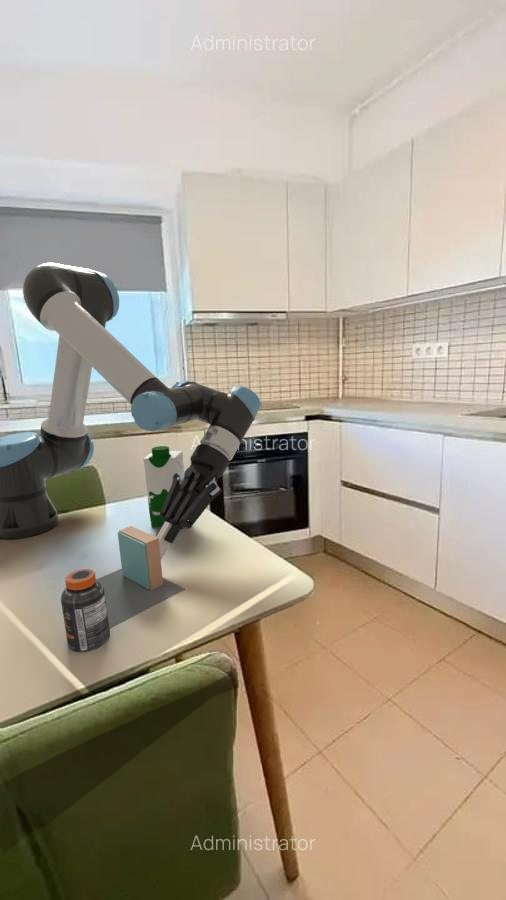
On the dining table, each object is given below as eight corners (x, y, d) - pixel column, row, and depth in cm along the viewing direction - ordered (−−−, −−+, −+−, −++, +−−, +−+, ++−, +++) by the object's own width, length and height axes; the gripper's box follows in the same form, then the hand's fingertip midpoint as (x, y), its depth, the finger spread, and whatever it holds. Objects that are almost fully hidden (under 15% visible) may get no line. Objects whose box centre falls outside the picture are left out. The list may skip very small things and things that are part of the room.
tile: (122, 575, 85) (116, 531, 83) (135, 569, 87) (131, 526, 85) (149, 591, 79) (144, 543, 77) (163, 584, 81) (158, 538, 79)
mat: (62, 597, 79) (61, 593, 79) (135, 566, 90) (135, 562, 89) (108, 633, 68) (107, 629, 68) (185, 593, 79) (185, 589, 79)
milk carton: (146, 531, 107) (138, 450, 103) (158, 517, 116) (151, 442, 112) (182, 531, 106) (175, 449, 102) (191, 517, 115) (185, 441, 111)
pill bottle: (68, 637, 68) (57, 569, 65) (108, 627, 70) (100, 561, 68) (68, 661, 62) (57, 588, 60) (112, 649, 65) (103, 578, 62)
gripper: (183, 439, 94) (121, 538, 86) (226, 446, 85) (162, 557, 77) (204, 458, 99) (147, 554, 91) (246, 466, 90) (188, 573, 82)
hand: (154, 555), depth 84 cm, fingers closed
